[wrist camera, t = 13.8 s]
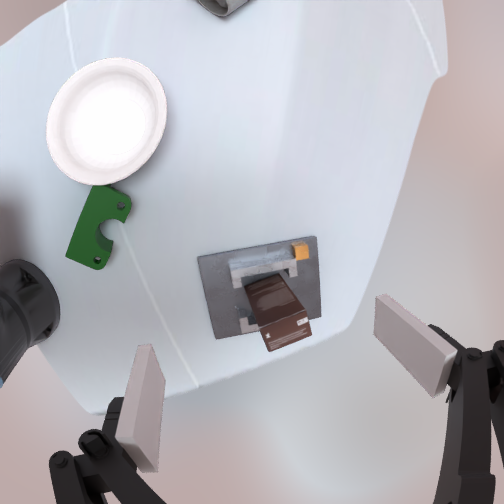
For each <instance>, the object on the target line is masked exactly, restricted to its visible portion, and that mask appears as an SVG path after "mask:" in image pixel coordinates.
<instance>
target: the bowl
mask: <svg viewBox="0 0 504 504" xmlns="http://www.w3.org/2000/svg"><path fill="white" fill-rule="evenodd" d="M166 119H167V101H166V96H165V93H164V89H163V87H162V85H161V83H160V81H159V80H158V78H157V77H156V76H155V74H154V73H153V72H152V71H151V70H150V69H149V68H147V67H146V66H144V65H142V64H141V63H139V62H136V61H133V60H131V59H126V58H118V57H117V58H105V59H102V60H98V61H95V62H92V63H90V64H88V65H86V66H84V67H83V68H81V69H80V70H78V71H77V72H76V73H74V74H73V75H72V76H71V77H70V78H69V79H68V80H67V81H66V82H65V83H64V84H63V86H62V87H61V88H60V90H59V91H58V93H57V94H56V96H55V98H54V100H53V102H52V104H51V107H50V110H49V113H48V117H47V124H46V141H47V145H48V149H49V153H50V155H51V157H52V159H53V161H54V163H55V164H56V165H57V167H58V168H59V169H60V170H61V171H62V172H63V173H64V174H65V175H67V176H68V177H69V178H71V179H73V180H75V181H77V182H79V183H83V184H87V185H106V184H111V183H115V182H117V181H120V180H122V179H125V178H127V177H128V176H130V175H131V174H133V173H134V172H136V171H137V170H138V169H139V168H140V167H141V166H142V165H144V164H145V163H146V162H147V161H148V159H149V158H150V157H151V155H152V154H153V153H154V151H155V150H156V148H157V146H158V144H159V142H160V140H161V138H162V135H163V132H164V129H165V126H166Z"/></svg>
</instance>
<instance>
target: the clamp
mask: <svg viewBox="0 0 504 504" xmlns="http://www.w3.org/2000/svg"><path fill="white" fill-rule="evenodd" d="M110 185H111V184H106V185H93V187H92V189H91V191H90V194H89V196H88V198H87V201H86V203H85V205H84V208H83V210H82V212H81V215H80V217H79V220H78V222H77V225H76V228H75V230H74V233H73V236H72V238H71V241H70V244H69V247H68V250H67V253H66V256H65V257H67V258H69V259H72V260H74V261H76V262H79V263H81V264H83V265H85V266H88V267H90V268H93V269H95V270H100V269H103V268H104V267H105V265H106V263H107V261H108V258H109V256H110V254H111V250H112V244H113V241H112V240H109V239H107V238H105V237H104V236H103V235H102V234H101V232H100V229H99V224H100V223H101V222H103V221H104V220H107V219H117V220H120V221H121V222H123V223H124V222H125V220H126V218H127V216H128V214H129V212H130V210H131V199H130V197H129V196H128V195H126V194H124V193H122V192H120V191H118V190H116V189H114V188H112V187H110ZM119 202H123V203H124V204H125V206H124V207H123V208H120V207H119V206H118V205H117V204H118V203H119ZM95 257H100V258H101V259H100V260H97V259H96V258H95Z"/></svg>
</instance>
